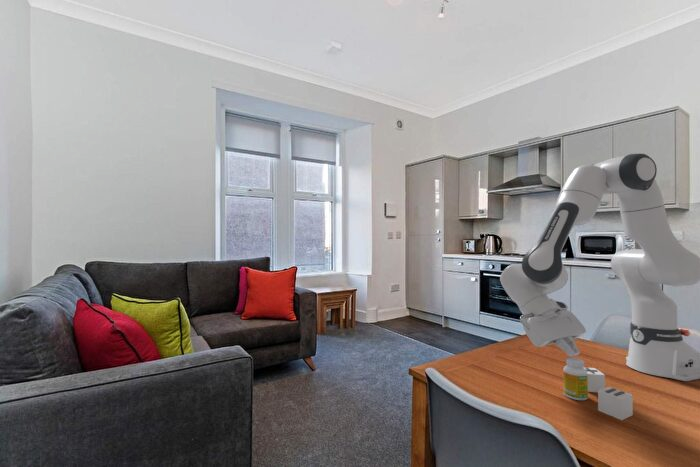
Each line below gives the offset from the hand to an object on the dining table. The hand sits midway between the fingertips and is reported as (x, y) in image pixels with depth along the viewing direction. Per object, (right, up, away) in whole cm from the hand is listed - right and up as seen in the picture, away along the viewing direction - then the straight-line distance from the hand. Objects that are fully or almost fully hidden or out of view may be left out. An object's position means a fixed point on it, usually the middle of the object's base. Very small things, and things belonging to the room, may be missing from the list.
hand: (575, 355), depth 92 cm
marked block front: (+4, -11, -9) cm, 15 cm away
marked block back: (+7, -11, +5) cm, 14 cm away
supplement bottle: (0, -11, 0) cm, 11 cm away
